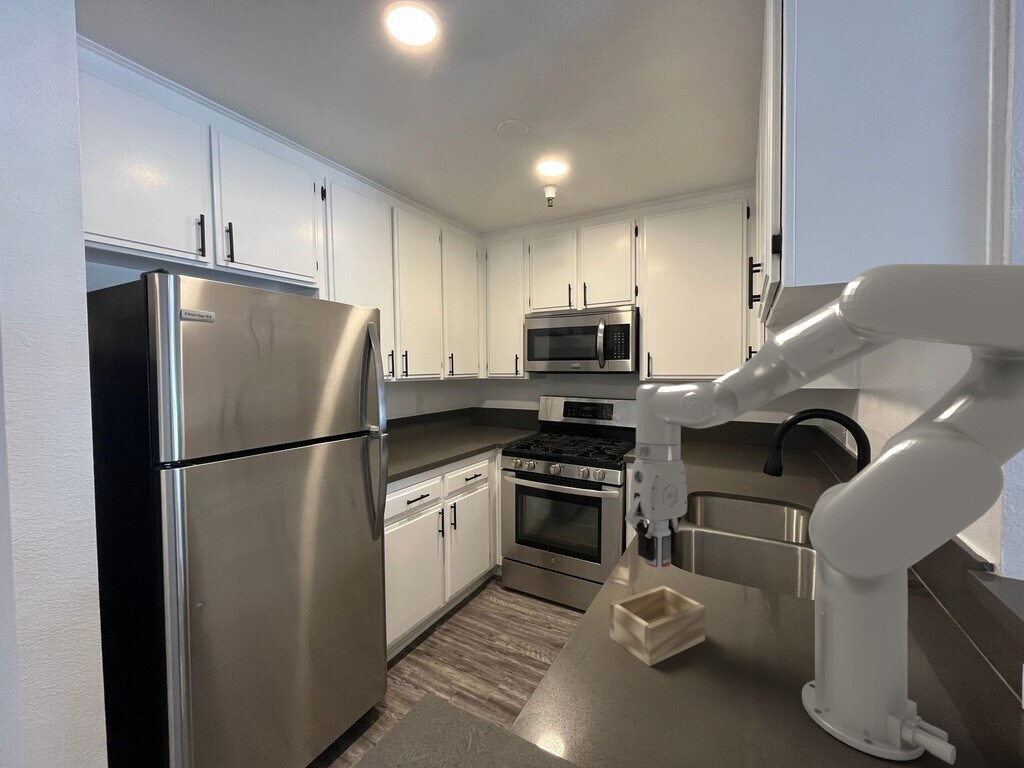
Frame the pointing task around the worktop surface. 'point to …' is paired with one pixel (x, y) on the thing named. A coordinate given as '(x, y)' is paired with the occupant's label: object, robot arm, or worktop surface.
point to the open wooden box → (657, 624)
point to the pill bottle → (661, 546)
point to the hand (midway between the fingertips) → (657, 553)
